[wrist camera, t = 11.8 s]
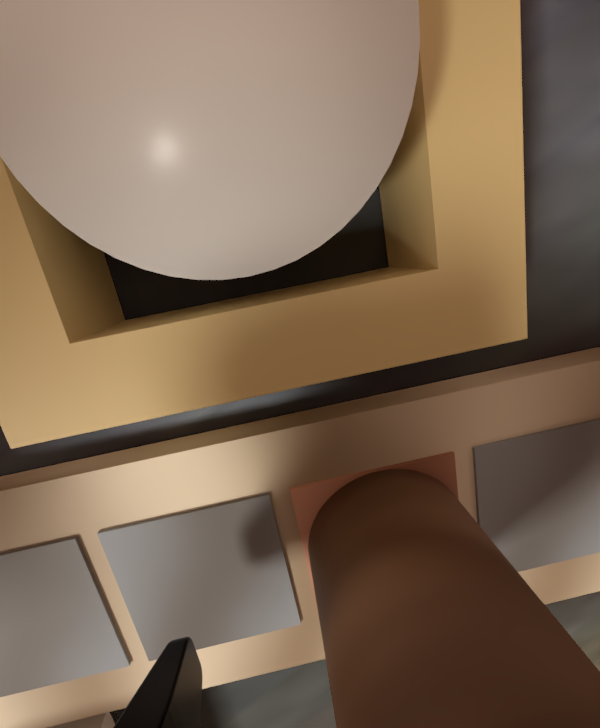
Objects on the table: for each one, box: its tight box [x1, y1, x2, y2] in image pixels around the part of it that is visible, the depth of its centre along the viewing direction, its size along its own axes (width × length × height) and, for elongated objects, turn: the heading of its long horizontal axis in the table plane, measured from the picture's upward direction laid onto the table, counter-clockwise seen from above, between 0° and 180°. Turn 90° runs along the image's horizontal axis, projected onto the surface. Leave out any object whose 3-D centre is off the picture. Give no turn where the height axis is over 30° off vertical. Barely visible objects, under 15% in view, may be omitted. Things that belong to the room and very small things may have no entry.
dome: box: [0, 0, 420, 280], centre depth 6 cm, size 5×5×3 cm
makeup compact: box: [0, 347, 600, 728], centre depth 10 cm, size 18×7×1 cm, turn 101°
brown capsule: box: [308, 469, 600, 728], centre depth 7 cm, size 4×4×5 cm
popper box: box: [0, 0, 528, 449], centre depth 6 cm, size 9×9×2 cm
